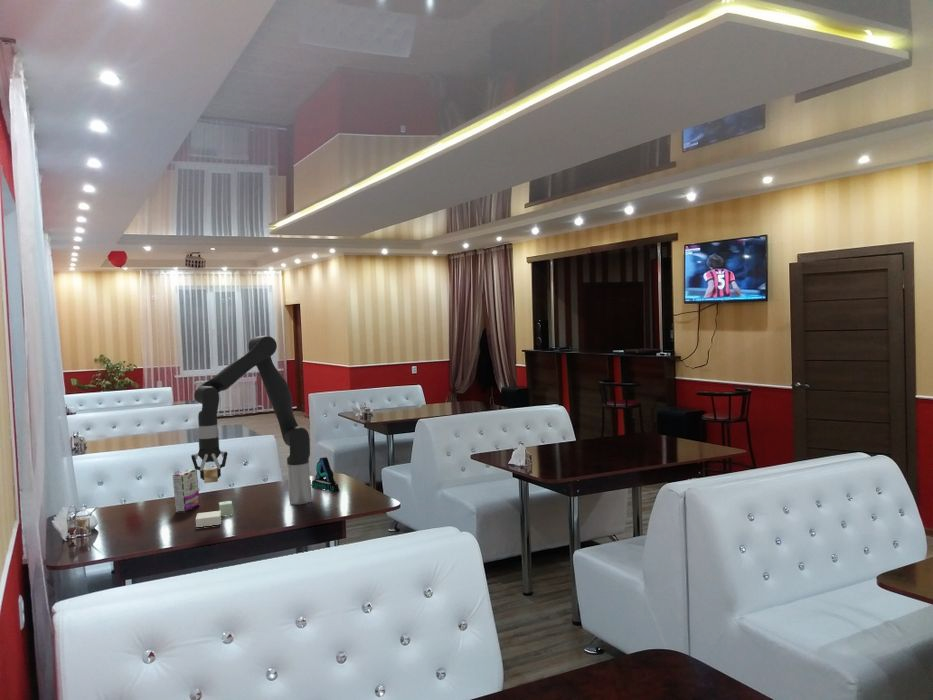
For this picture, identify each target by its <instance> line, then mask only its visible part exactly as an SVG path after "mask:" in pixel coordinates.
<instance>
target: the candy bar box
mask: <svg viewBox="0 0 933 700" xmlns="http://www.w3.org/2000/svg"><path fill="white" fill-rule="evenodd" d="M172 482H173V483H172V484H173V493H174V504H175V513H179V512H178V511H187V510H189V509H191V508H193V507H195V506H197V505H199V504H201V502H200V493H199V490H200V489H199V479H198V470H196V469H195V468H188V469H184V470H181V471H180V472H177V473H174V474H173V475H172ZM199 506H200V505H199ZM197 507H198V506H197ZM195 508H196V507H195ZM193 509H194V508H193ZM191 510H192V509H191ZM189 511H190V510H189ZM187 512H188V511H187Z"/></svg>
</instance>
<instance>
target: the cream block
mask: <svg viewBox="0 0 933 700" xmlns="http://www.w3.org/2000/svg"><path fill="white" fill-rule="evenodd" d="M221 519H222V517H221V511H219V510H215V511H207V512H198V513H196V517H195V528H196V527H203V526H212V525H219V524H221V525H222V520H221ZM212 527H213V526H212Z"/></svg>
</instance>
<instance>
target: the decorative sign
mask: <svg viewBox="0 0 933 700" xmlns="http://www.w3.org/2000/svg"><path fill="white" fill-rule="evenodd" d="M315 468H316V475H315V479H313V480H311V486H313V487H312V488H314V487H317V488H316V489H318V488H320V489H319V490H322V489H325V490H324V491H326V490H329V491H328V492H331V491H332V492H331V493H337V492H340V488H339V484H338V483H337V482H336V481H335V479H334V476H335V475H334V472H333V470H332V468H331V465H330V461H329V460H328V457H326V456H323V457H320V458H319V461H318V462H317V463H316V467H315Z"/></svg>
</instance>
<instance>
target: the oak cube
mask: <svg viewBox="0 0 933 700" xmlns="http://www.w3.org/2000/svg"><path fill="white" fill-rule="evenodd" d="M203 470H204V480H203V483H204V484H209V483H218V482H219V478H218V474H217V466H214V467H204V468H203Z"/></svg>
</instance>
